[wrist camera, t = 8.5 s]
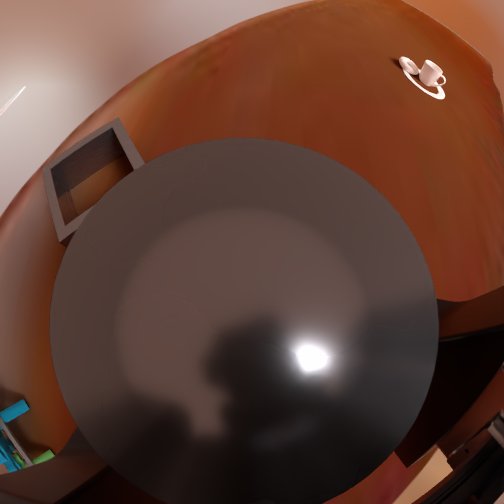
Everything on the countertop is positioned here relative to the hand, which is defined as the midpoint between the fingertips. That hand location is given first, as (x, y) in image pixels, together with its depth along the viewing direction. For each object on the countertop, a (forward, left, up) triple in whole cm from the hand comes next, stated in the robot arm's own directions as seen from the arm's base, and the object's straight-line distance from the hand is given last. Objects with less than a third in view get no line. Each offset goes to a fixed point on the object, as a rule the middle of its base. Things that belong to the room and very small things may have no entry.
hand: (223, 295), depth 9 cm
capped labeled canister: (-1, 0, -7) cm, 7 cm away
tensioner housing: (+13, +3, -9) cm, 16 cm away
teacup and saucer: (+13, -44, -10) cm, 47 cm away
